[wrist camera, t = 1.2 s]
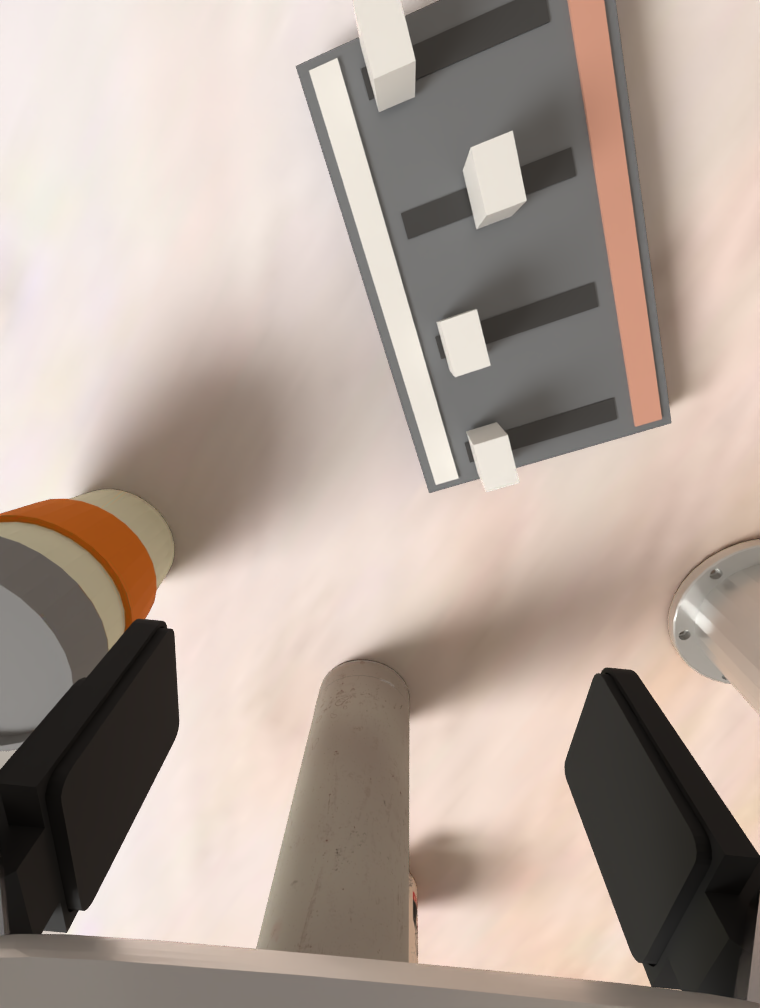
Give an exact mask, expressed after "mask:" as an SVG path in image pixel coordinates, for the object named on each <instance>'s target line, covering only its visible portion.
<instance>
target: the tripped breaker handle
mask: <svg viewBox="0 0 760 1008" xmlns="http://www.w3.org/2000/svg"><path fill="white" fill-rule="evenodd" d="M463 174H464V178H465V183H466V187H467V191H468V195H469V200H470V204H471V208H472V212H473V217H474V221H475V225H476V229H479V228H482V227H484V226H487V225H490V224H492V223H495V222H498V221H500V220H503V219H506V218H509V217H511V216H512V215H513V214H514V213H515V212H516V211H517V210H518V209H519V208H520V207H521V206H522V205H523V204H524V203H525V202H526V201H527V199H526V194H525V190H524V185H523V180H522V175H521V170H520V165H519V160H518V155H517V150H516V145H515V140H514V135H513V131H510V132H508V133H505V134H503V135H500V136H498V137H495V138H493V139H490V140H488V141H485V142H483V143H480V144H478V145H475V146H473V147H471V148H470V151H469V154H468V157H467V159H466V162H465V165H464V168H463Z"/></svg>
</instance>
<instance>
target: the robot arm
mask: <svg viewBox="0 0 760 1008" xmlns="http://www.w3.org/2000/svg"><path fill="white" fill-rule="evenodd" d="M668 631H669V636H670V639H671V642H672V644H673V646H674V648H675V649H676V651H677V652H678V654H679V655H680V656H681V658H682V659H683V660H684V661H685V662H686V663H687V664H688V666H689V667H691V668H692V669H693V670H695V671H696V672H697V673H699V674H701V675H703V676H705V677H707V678H709V679H711V680H715V681H718V682H722V683H727V684H732V685H733V686H734V687H735V689H736V690H737V691H738V692H739V693H740V694H741V695H742V696H743V698H744V699H745V700H746V701H747V702H748V703H749V704H750V705H751V707H752V708H753V709H754V710H755V711H756V712H757V713H758V714H759V716H760V539H755V540H751V541H747V542H743V543H739V544H736V545H733V546H731V547H729V548H726V549H724V550H721V551H720V552H718V553H716V554H715V555H713V556H711V557H709V558H708V559H706V560H705V561H704V562H702V563H701V564H700V565H699V566H698V567H696V568H695V569H694V570H693V571H692V572H691V573H690V574H689V575H688V576H687V578H686V579H685V580H684V581H683V582H682V584H681V585H680V587H679V589H678V590H677V592H676V593H675V595H674V598H673V600H672V603H671V606H670V608H669V615H668ZM178 728H179V709H178V691H177V673H176V655H175V637H174V631H173V629H168V628H167V625H166V623H165V622H164V621H157V620H148V619H136V620H135V621H134V622H133V623H132V624H131V625H130V626H129V627H128V629H127V630H126V631H125V632H124V633H123V635H122V636H121V637H120V638H119V639H118V640H117V642H116V643H115V644H114V645H113V646H112V648H111V649H110V650H109V651H108V652H107V654H106V655H105V656H104V657H103V658H102V660H101V661H100V662H99V663H98V664H97V666H96V667H95V668H94V669H93V670H92V672H91V673H90V674H89V675H88V676H87V678H86V677H83V678H81V679H79V680H78V681H77V682H75V683H74V684H73V685H72V686H71V688H70V689H69V690H68V691H67V692H66V693H65V695H64V696H63V697H62V698H61V699H60V700H59V702H58V703H57V704H56V705H55V706H54V707H53V709H52V710H51V711H50V712H49V713H48V714H47V716H46V717H45V718H44V719H43V720H42V721H41V723H40V724H39V725H38V726H37V727H36V728H35V730H34V731H33V732H32V733H31V734H30V735H29V737H28V738H27V739H26V740H25V741H24V742H23V744H22V745H21V746H20V747H19V748H18V749H17V751H16V752H15V753H14V754H13V755H12V756H11V758H10V759H9V760H8V761H7V762H6V763H5V765H4V766H3V767H2V768H1V769H0V1008H760V855H759V854H758V852H757V851H756V849H755V848H754V847H753V845H752V844H751V842H750V841H749V839H748V838H747V836H746V835H745V833H744V832H743V830H742V829H741V827H740V826H739V824H738V823H737V821H736V820H735V818H734V817H733V815H732V814H731V812H730V811H729V810H728V808H727V807H726V805H725V804H724V802H723V801H722V799H721V798H720V796H719V795H718V793H717V792H716V790H715V789H714V787H713V786H712V784H711V783H710V781H709V780H708V778H707V777H706V775H705V774H704V773H703V771H702V770H701V768H700V767H699V765H698V764H697V762H696V761H695V759H694V758H693V756H692V755H691V753H690V752H689V750H688V749H687V747H686V746H685V744H684V743H683V741H682V740H681V738H680V737H679V736H678V734H677V733H676V731H675V730H674V728H673V727H672V725H671V724H670V722H669V721H668V719H667V718H666V716H665V715H664V713H663V712H662V710H661V709H660V707H659V706H658V704H657V703H656V701H655V700H654V699H653V697H652V696H651V694H650V693H649V691H648V690H647V688H646V687H645V685H644V684H643V682H642V681H641V679H640V678H639V676H638V675H637V674H636V673H635V672H634V671H632V670H626V669H616V668H604V669H603V670H602V672H601V674H600V673H598V674H596V675H594V678H593V680H592V683H591V686H590V689H589V692H588V695H587V698H586V701H585V704H584V707H583V710H582V713H581V716H580V719H579V722H578V725H577V728H576V730H575V733H574V736H573V739H572V742H571V745H570V748H569V751H568V754H567V757H566V760H565V775H566V779H567V782H568V785H569V788H570V790H571V793H572V796H573V798H574V801H575V804H576V806H577V809H578V812H579V814H580V817H581V820H582V822H583V825H584V828H585V830H586V833H587V836H588V839H589V841H590V844H591V847H592V849H593V852H594V855H595V857H596V860H597V863H598V865H599V868H600V871H601V873H602V876H603V879H604V881H605V884H606V887H607V890H608V892H609V895H610V898H611V900H612V903H613V906H614V908H615V911H616V914H617V916H618V919H619V922H620V924H621V927H622V930H623V932H624V935H625V938H626V940H627V943H628V946H629V949H630V951H631V953H632V955H633V957H634V958H635V960H636V961H637V962H639V963H643V966H644V968H645V971H646V973H647V976H648V979H649V981H650V984H651V986H652V987H647V986H639V985H631V984H622V983H613V982H603V981H593V980H583V979H573V978H562V977H552V976H542V975H532V974H522V973H512V972H502V971H492V970H482V969H471V968H461V967H450V966H439V965H429V964H418V963H407V962H396V961H386V960H375V959H364V958H353V957H342V956H331V955H320V954H310V953H298V952H287V951H275V950H264V949H252V948H240V947H229V946H217V945H206V944H194V943H183V942H171V941H159V940H144V939H128V938H113V937H98V936H83V935H66V934H42V932H43V931H54V932H64V933H67V932H68V930H69V928H70V926H71V924H72V922H73V920H74V918H75V916H76V914H77V912H78V911H79V910H82V911H85V910H86V909H88V908H89V906H90V905H91V903H92V902H93V900H94V898H95V896H96V894H97V892H98V890H99V888H100V886H101V884H102V882H103V880H104V878H105V877H106V875H107V873H108V871H109V869H110V867H111V865H112V863H113V861H114V859H115V857H116V855H117V853H118V851H119V849H120V847H121V845H122V843H123V841H124V839H125V837H126V835H127V833H128V831H129V829H130V827H131V825H132V823H133V821H134V819H135V817H136V815H137V813H138V812H139V810H140V808H141V806H142V804H143V802H144V800H145V798H146V796H147V794H148V792H149V790H150V788H151V786H152V784H153V782H154V780H155V778H156V776H157V774H158V772H159V770H160V768H161V766H162V764H163V762H164V760H165V758H166V756H167V754H168V752H169V750H170V748H171V747H172V745H173V743H174V741H175V738H176V736H177V732H178ZM656 987H658V988H656ZM664 988H668V989H664ZM672 989H679V990H672ZM680 990H682V991H680Z"/></svg>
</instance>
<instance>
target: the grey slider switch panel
mask: <svg viewBox="0 0 760 1008" xmlns="http://www.w3.org/2000/svg"><path fill="white" fill-rule="evenodd" d="M352 1H353V7H354V12H355V18H356V23H357V29H358V34H359V37H358V38H356V39H354V40H352V41H350V42H347V43H345V44H343V45H341V46H339V47H336V48H334V49H332V50H330V51H328V52H326V53H323V54H321V55H319V56H317V57H315V58H312V59H310V60H308V61H306V62H304V63H301V64H299V65H297V66H296V69H297V72H298V75H299V78H300V81H301V85H302V88H303V91H304V94H305V97H306V101H307V104H308V107H309V110H310V113H311V117H312V120H313V123H314V126H315V129H316V133H317V136H318V139H319V142H320V145H321V149H322V152H323V155H324V158H325V161H326V165H327V168H328V171H329V174H330V177H331V181H332V184H333V187H334V190H335V193H336V196H337V200H338V203H339V206H340V209H341V212H342V216H343V219H344V222H345V225H346V228H347V232H348V235H349V238H350V241H351V244H352V248H353V251H354V254H355V257H356V260H357V264H358V267H359V270H360V273H361V276H362V280H363V283H364V286H365V289H366V292H367V296H368V299H369V302H370V305H371V308H372V312H373V315H374V318H375V321H376V324H377V328H378V331H379V334H380V337H381V340H382V344H383V347H384V350H385V353H386V356H387V360H388V363H389V366H390V369H391V372H392V376H393V379H394V382H395V385H396V388H397V392H398V395H399V398H400V401H401V404H402V408H403V411H404V414H405V417H406V420H407V424H408V427H409V430H410V433H411V436H412V440H413V443H414V446H415V449H416V452H417V456H418V459H419V462H420V465H421V468H422V471H423V475H424V478H425V481H426V484H427V487H428V491H429V493H432V492H435V491H438V490H442V489H445V488H449V487H452V486H456V485H459V484H463V483H466V482H470V481H473V480H476V479H480V480H481V482H482V484H483V486H484V489H485V491H486V492H489V491H493V490H496V489H500V488H503V487H507V486H510V485H514V484H518V483H520V482H519V478H518V474H517V470H516V468H518V467H521V466H525V465H528V464H532V463H535V462H539V461H542V460H546V459H549V458H552V457H556V456H559V455H563V454H566V453H570V452H573V451H577V450H580V449H584V448H587V447H591V446H594V445H597V444H601V443H604V442H608V441H611V440H615V439H618V438H622V437H625V436H629V435H632V434H635V433H639V432H642V431H646V430H649V429H653V428H656V427H660V426H663V425H667V424H670V423H671V416H670V408H669V401H668V393H667V386H666V378H665V371H664V363H663V356H662V348H661V340H660V333H659V325H658V318H657V310H656V303H655V295H654V288H653V280H652V273H651V265H650V258H649V250H648V242H647V235H646V227H645V220H644V212H643V205H642V197H641V190H640V182H639V175H638V167H637V160H636V152H635V144H634V137H633V129H632V122H631V114H630V107H629V99H628V92H627V84H626V77H625V69H624V62H623V54H622V46H621V39H620V31H619V24H618V16H617V9H616V1H615V0H439V1H437V2H435V3H433V4H431V5H428V6H426V7H424V8H422V9H420V10H417V11H415V12H413V13H411V14H409V15H406V16H405V15H404V11H403V7H402V3H401V0H352ZM510 131H513V135H514V140H515V145H516V150H517V155H518V160H519V165H520V170H521V175H522V180H523V185H524V190H525V194H526V199H527V201H526V202H525V203H524V204H523V205H522V206H521V207H520V208H519V209H518V210H517V211H516V212H515V213H514V214H513V215H512V216H511V217H509V218H506V219H503V220H500V221H498V222H495V223H492V224H490V225H487V226H484V227H482V228H479V229H476V225H475V221H474V217H473V212H472V208H471V204H470V200H469V195H468V191H467V187H466V183H465V178H464V174H463V168H464V165H465V162H466V159H467V157H468V154H469V151H470V148H471V147H473V146H475V145H478V144H480V143H483V142H485V141H488V140H490V139H493V138H495V137H498V136H500V135H503V134H505V133H508V132H510Z"/></svg>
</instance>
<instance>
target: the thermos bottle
mask: <svg viewBox="0 0 760 1008" xmlns="http://www.w3.org/2000/svg"><path fill="white" fill-rule="evenodd" d="M256 949H264V950H275V951H287V952H298V953H310V954H320V955H331V956H342V957H353V958H364V959H375V960H386V961H396V962H407V963H409V692H408V689H407V686H406V684H405V682H404V681H403V679H402V678H401V677H400V676H399V675H398V673H396V672H395V671H394V670H392V669H391V668H389V667H388V666H386V665H384V664H381V663H378V662H375V661H368V660H355V661H349V662H346V663H343V664H341V665H339V666H337V667H335V668H334V669H333V670H331V671H330V672H329V673H328V674H327V675H326V677H325V678H324V680H323V682H322V684H321V687H320V691H319V695H318V698H317V702H316V706H315V711H314V715H313V720H312V724H311V728H310V732H309V736H308V740H307V744H306V748H305V752H304V756H303V760H302V764H301V768H300V772H299V776H298V780H297V784H296V789H295V793H294V797H293V801H292V805H291V809H290V813H289V817H288V821H287V825H286V829H285V833H284V837H283V841H282V846H281V850H280V854H279V858H278V862H277V866H276V870H275V874H274V878H273V882H272V886H271V890H270V894H269V898H268V903H267V907H266V911H265V915H264V919H263V923H262V927H261V931H260V935H259V939H258V943H257V947H256Z"/></svg>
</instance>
